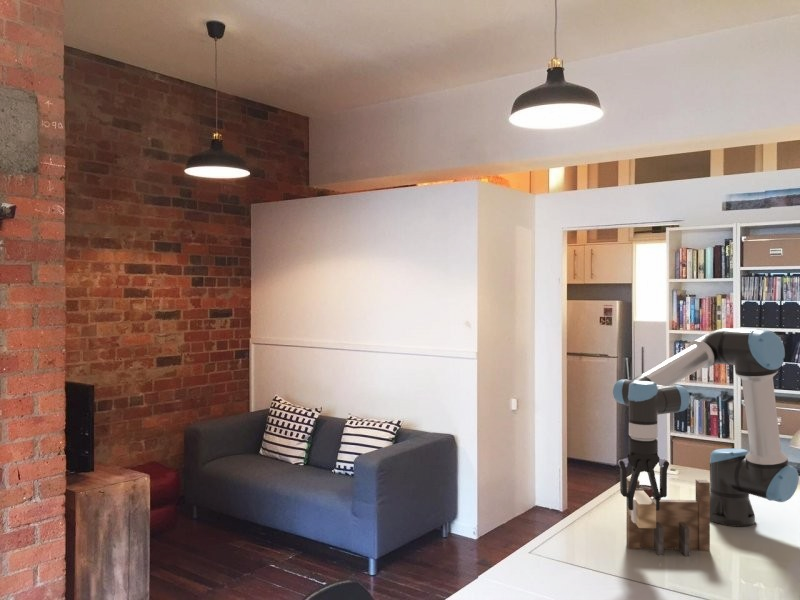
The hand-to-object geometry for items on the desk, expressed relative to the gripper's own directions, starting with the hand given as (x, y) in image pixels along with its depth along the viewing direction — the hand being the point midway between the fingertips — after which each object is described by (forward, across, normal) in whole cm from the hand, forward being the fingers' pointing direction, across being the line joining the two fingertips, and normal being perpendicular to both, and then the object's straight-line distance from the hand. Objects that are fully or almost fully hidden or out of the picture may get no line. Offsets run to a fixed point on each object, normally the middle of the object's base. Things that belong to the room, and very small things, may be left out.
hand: (643, 521), depth 184 cm
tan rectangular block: (0, 0, -2) cm, 3 cm away
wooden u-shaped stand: (+12, -10, -11) cm, 20 cm away
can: (+13, -8, -27) cm, 31 cm away
